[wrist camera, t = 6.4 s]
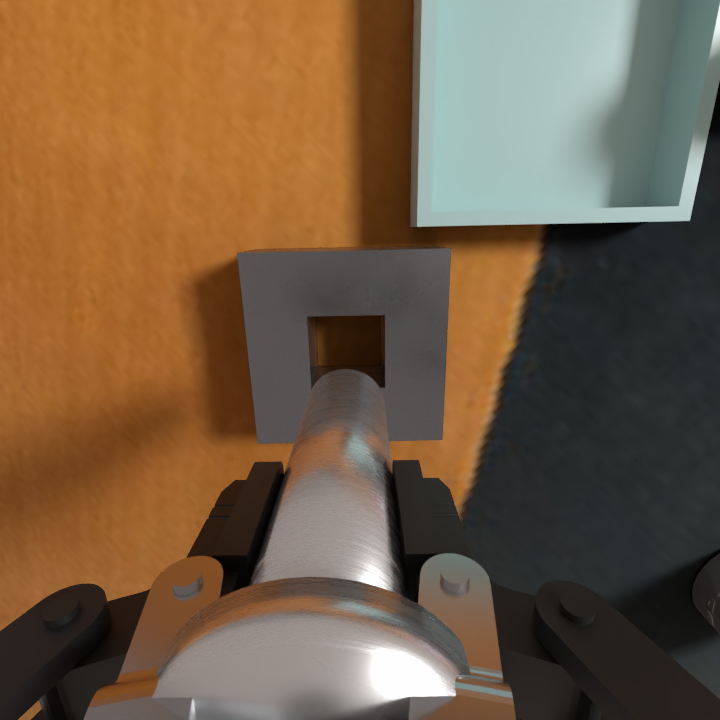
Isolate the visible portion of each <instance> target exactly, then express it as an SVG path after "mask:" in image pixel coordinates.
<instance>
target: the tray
mask: <svg viewBox="0 0 720 720" xmlns="http://www.w3.org/2000/svg"><path fill="white" fill-rule="evenodd" d="M719 81H720V0H413V60H412V123H411V186H410V227H432V226H479V225H525V224H572V223H618V222H663V221H690V217H691V213H692V208H693V203H694V198H695V194H696V189H697V184H698V180H699V175H700V170H701V166H702V161H703V156H704V151H705V147H706V142H707V137H708V133H709V128H710V123H711V119H712V114H713V109H714V104H715V100H716V95H717V90H718V86H719Z"/></svg>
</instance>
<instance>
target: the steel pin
mask: <svg viewBox="0 0 720 720" xmlns="http://www.w3.org/2000/svg"><path fill="white" fill-rule="evenodd" d="M459 674H465V675H470V668H469V664H468V660H467V656H466V651H465V647H464V645H463V643H462V642H461V641H460V640H459V638H458V637H457V636H456V635H455V633H454V632H453V631H452V630H451V629H450V628H449V627H448V626H447V625H446V624H445V623H444V622H442V621H441V620H440V619H439V618H438V617H437V616H435V615H434V614H433V613H431V612H430V611H428V610H427V609H425V608H424V607H422V606H421V605H419V604H417V603H415V602H413V601H412V600H410V599H409V595H408V589H407V584H406V581H405V573H404V565H403V557H402V549H401V540H400V532H399V524H398V516H397V508H396V500H395V491H394V483H393V475H392V460H391V453H390V445H389V437H388V429H387V421H386V413H385V405H384V398H383V394H382V391H381V389H380V387H379V386H378V384H377V383H376V382H375V381H374V380H373V379H372V378H371V377H370V376H368V375H367V374H365V373H363V372H361V371H357V370H353V369H339V370H334V371H331V372H329V373H327V374H325V375H324V376H322V377H321V378H320V379H319V380H318V381H317V382H316V383H315V385H314V386H313V388H312V390H311V392H310V395H309V399H308V402H307V405H306V408H305V411H304V414H303V417H302V420H301V424H300V427H299V430H298V433H297V436H296V439H295V442H294V445H293V448H292V452H291V455H290V458H289V461H288V464H287V467H286V470H285V473H284V477H283V480H282V483H281V486H280V489H279V492H278V495H277V498H276V502H275V505H274V508H273V511H272V514H271V517H270V520H269V523H268V527H267V530H266V533H265V536H264V539H263V542H262V545H261V548H260V552H259V555H258V558H257V561H256V564H255V567H254V570H253V573H252V577H251V580H250V583H249V586H248V587H245V588H241V589H239V590H237V591H234V592H232V593H229V594H227V595H225V596H222V597H221V598H219V599H217V600H215V601H214V602H212V603H210V604H208V605H207V606H205V607H204V608H202V609H201V610H200V611H198V612H197V613H196V614H195V615H193V616H192V617H191V618H190V619H189V620H188V621H187V622H186V623H185V624H184V625H183V626H182V627H181V628H180V629H179V630H178V631H177V633H176V634H175V636H174V637H173V639H172V640H171V642H170V643H169V644H168V646H167V648H166V650H165V653H164V655H163V657H162V659H161V661H160V663H159V665H158V668H157V670H156V672H155V674H154V676H156V675H158V676H159V680H158V684H157V687H156V690H155V692H154V694H153V697H152V698H193V702H194V707H195V712H196V717H197V720H409V708H410V696H456V692H455V679H456V677H457V675H459Z"/></svg>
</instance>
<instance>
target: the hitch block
mask: <svg viewBox="0 0 720 720" xmlns="http://www.w3.org/2000/svg"><path fill="white" fill-rule="evenodd" d="M237 258H238V267H239V276H240V285H241V295H242V304H243V313H244V322H245V331H246V341H247V350H248V359H249V368H250V378H251V387H252V396H253V405H254V414H255V424H256V433H257V442H258V444H259V443H294V442H295V439H296V436H297V433H298V430H299V427H300V424H301V420H302V417H303V414H304V411H305V408H306V405H307V402H308V399H309V395H310V392H311V390H312V388H313V386H314V385H315V383H316V382H317V381H318V380H319V379H320V378H321V377H322V376H324V375H325V374H327V373H329V372H331V371H334V370H339V369H353V370H357V371H361V372H363V373H365V374H367V375H368V376H370V377H371V378H372V379H373V380H374V381H375V382H376V383H377V384H378V386H379V387H380V389H381V391H382V394H383V398H384V405H385V413H386V421H387V429H388V437H389V441H415V440H442V438H443V416H444V395H445V373H446V351H447V329H448V307H449V285H450V263H451V248H447V247H442V246H437V245H432V246H385V247H338V248H291V249H255V250H250V251H245V252H240V253H237ZM361 315H381V362H382V365H360V366H318V353H317V335H316V317H315V316H361Z"/></svg>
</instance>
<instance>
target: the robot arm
mask: <svg viewBox="0 0 720 720" xmlns="http://www.w3.org/2000/svg"><path fill="white" fill-rule="evenodd" d="M392 475H393V483H394V491H395V500H396V508H397V516H398V524H399V532H400V540H401V549H402V557H403V565H404V573H405V581H406V584H407V589H408V595H409V599H410V600H412V601H413V602H415V603H417V604H419V605H421V606H422V607H424V608H425V609H427V610H428V611H430V612H431V613H433V614H434V615H435V616H437V617H438V618H439V619H440V620H441V621H442V622H444V623H445V624H446V625H447V626H448V627H449V628H450V629H451V630H452V631H453V632H454V633H455V635H456V636H457V637H458V638H459V640H460V641H461V642H462V643H463V645H464V647H465V651H466V656H467V660H468V664H469V668H470V675H465V674H459V675H457V677H456V679H455V692H456V696H410V708H409V720H516V717H519V718H521V719H524V720H720V699H719V698H718V697H716V696H715V695H714V694H713V693H712V692H711V691H710V690H708V689H707V688H706V687H705V686H704V685H703V684H701V683H700V682H699V681H698V680H697V679H696V678H695V677H693V676H692V675H691V674H690V673H689V672H688V671H686V670H685V669H684V668H683V667H682V666H681V665H679V664H678V663H677V662H676V661H675V660H674V659H673V658H671V657H670V656H669V655H668V654H667V653H666V652H664V651H663V650H662V649H661V648H660V647H659V646H658V645H656V644H655V643H654V642H653V641H652V640H651V639H649V638H648V637H647V636H646V635H645V634H644V633H643V632H641V631H640V630H639V629H638V628H637V627H636V626H634V625H633V624H632V623H631V622H630V621H629V620H628V619H626V618H625V617H624V616H623V615H622V614H621V613H619V612H618V611H617V610H616V609H615V608H614V607H612V606H611V605H610V604H609V603H608V602H607V601H606V600H604V599H603V598H602V597H601V596H599V595H598V594H597V593H595V592H594V591H592V590H590V589H588V588H586V587H584V586H582V585H580V584H577V583H573V582H569V581H551V582H548V583H546V584H544V585H542V586H541V587H540V588H539V590H538V591H537V594H536V596H533V595H530V594H526V593H522V592H518V591H514V590H511V589H508V588H505V587H503V586H500V585H498V584H496V583H495V582H493V581H491V580H490V579H489V577H488V575H487V573H486V572H485V570H484V569H483V568H482V567H481V566H480V565H479V564H478V563H476V562H475V561H474V560H473V557H472V554H471V551H470V548H469V545H468V543H467V540H466V537H465V534H464V531H463V528H462V525H461V522H460V519H459V516H458V513H457V510H456V507H455V505H454V501H453V498H452V495H451V492H450V489H449V488H448V487H447V486H446V485H445V484H444V483H443V482H442V481H441V480H440V479H439V478H423V476H422V472H421V468H420V463H419V461H418V460H393V464H392ZM283 477H284V470H283V464H282V462H255V463H254V465H253V467H252V469H251V471H250V473H249V475H248V478H247V480H235V481H234V482H233V483H231V484H230V485H229V486H228V487H227V488H225V489H224V490H223V491H222V492H221V494H220V496H219V498H218V500H217V502H216V503H215V507H214V508H213V509H212V511H211V513H210V515H209V519H207V520H206V522H205V524H204V526H203V528H202V530H201V531H200V533H199V535H198V537H197V539H196V541H195V543H194V544H193V546H192V548H191V550H190V552H189V554H188V556H187V558H185V559H182V560H180V561H178V562H176V563H174V564H172V565H170V566H169V567H167V568H166V569H165V570H164V571H163V572H161V573H160V574H159V576H158V577H157V578H156V579H155V581H154V582H153V584H152V586H151V589H149V590H147V591H144V592H141V593H137V594H134V595H130V596H126V597H122V598H119V599H115V600H111V601H108V602H107V598H106V595H105V592H104V590H103V589H102V588H101V587H99V586H98V585H94V584H78V585H74V586H70V587H67V588H64V589H62V590H59V591H57V592H55V593H53V594H51V595H50V596H48V597H46V598H45V599H43V600H42V601H40V602H39V603H38V604H36V605H35V606H34V607H32V608H31V609H30V610H28V611H27V612H26V613H24V614H23V615H22V616H20V617H19V618H18V619H16V620H15V621H13V622H12V623H11V624H9V625H8V626H7V627H5V628H4V629H3V630H1V631H0V720H18V719H19V718H20V717H21V716H22V715H23V714H24V713H25V712H26V711H27V710H28V709H30V708H31V707H32V706H33V705H34V704H35V703H36V702H37V701H38V700H39V702H40V705H41V707H42V709H41V710H40V711H39V712H38V713H37V714H36V715H35V716H34V717H33V718H32V719H31V720H197V717H196V712H195V707H194V702H193V698H152V697H153V694H154V692H155V690H156V687H157V684H158V680H159V676H158V675H156V676H154V674H155V672H156V670H157V668H158V665H159V663H160V661H161V659H162V657H163V655H164V653H165V650H166V648H167V646H168V644H169V643H170V642H171V640H172V639H173V637H174V636H175V634H176V633H177V631H178V630H179V629H180V628H181V627H182V626H183V625H184V624H185V623H186V622H187V621H188V620H189V619H190V618H191V617H192V616H193V615H195V614H196V613H197V612H198V611H200V610H201V609H202V608H204V607H205V606H207V605H208V604H210V603H212V602H214V601H215V600H217V599H219V598H221V597H222V596H225V595H227V594H229V593H232V592H234V591H237V590H239V589H241V588H245V587H248V586H249V583H250V580H251V577H252V573H253V570H254V567H255V564H256V561H257V558H258V555H259V552H260V548H261V545H262V542H263V539H264V536H265V533H266V530H267V527H268V523H269V520H270V517H271V514H272V511H273V508H274V505H275V502H276V498H277V495H278V492H279V489H280V486H281V483H282V480H283ZM692 597H693V602H694V604H695V606H696V609H697V610H698V611H699V612H700V613H701V614H702V615H703V616H704V618H705V619H706V620H707V621H708V622H709V623H710V624H711V626H712V627H713V628H714V629H715V630H716V631H717V632H718V633H719V635H720V553H719V554H718V555H716V556H715V557H714V558H712V559H711V560H710V561H709V562H708V563H707V564H706V565H705V566H704V567H703V568H702V569H701V571H700V572H699V574H698V575H697V577H696V579H695V582H694V584H693V590H692Z"/></svg>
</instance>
